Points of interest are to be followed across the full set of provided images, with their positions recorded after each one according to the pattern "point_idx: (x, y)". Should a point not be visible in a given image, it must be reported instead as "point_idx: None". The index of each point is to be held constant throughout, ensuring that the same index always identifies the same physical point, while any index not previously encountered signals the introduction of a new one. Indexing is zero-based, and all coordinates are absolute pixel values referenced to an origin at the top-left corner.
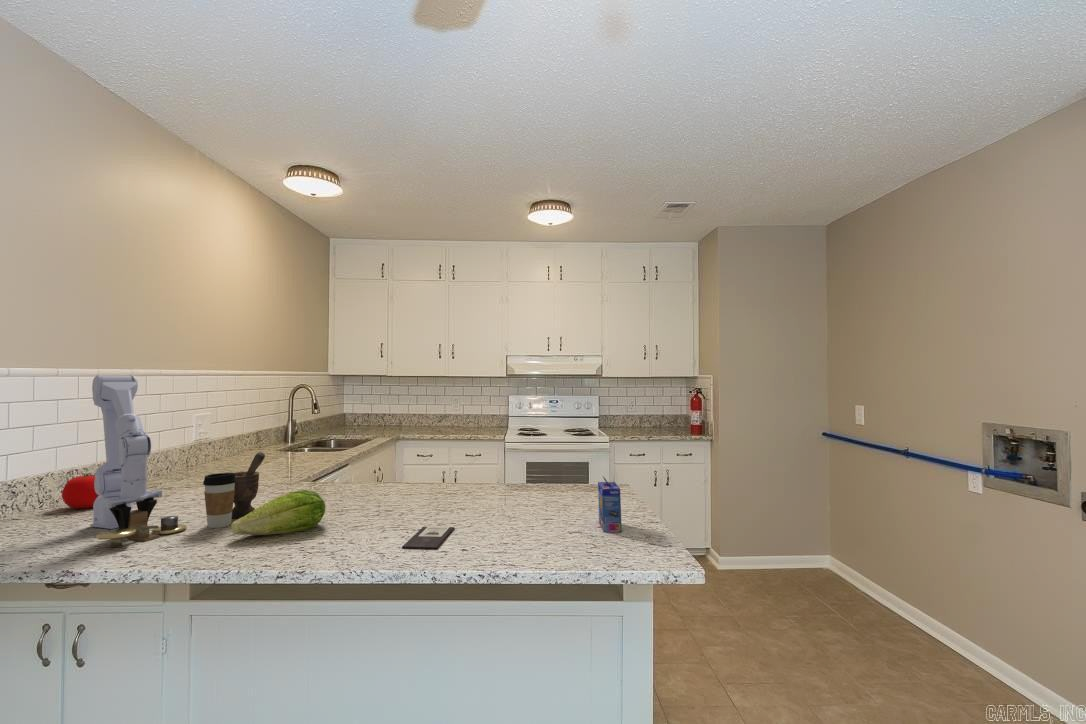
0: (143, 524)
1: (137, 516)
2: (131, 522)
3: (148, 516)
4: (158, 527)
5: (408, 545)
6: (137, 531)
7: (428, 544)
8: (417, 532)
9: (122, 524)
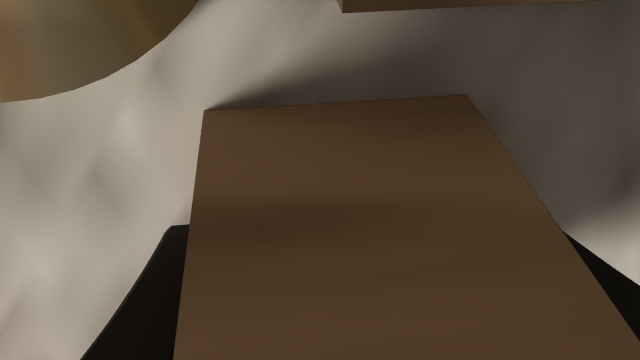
0: (276, 188)
1: (451, 323)
2: (549, 236)
3: (126, 331)
4: (23, 85)
5: None
6: (372, 131)
7: None
8: None
9: None
